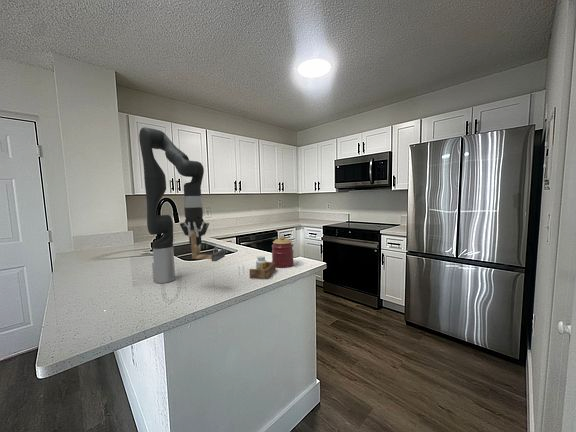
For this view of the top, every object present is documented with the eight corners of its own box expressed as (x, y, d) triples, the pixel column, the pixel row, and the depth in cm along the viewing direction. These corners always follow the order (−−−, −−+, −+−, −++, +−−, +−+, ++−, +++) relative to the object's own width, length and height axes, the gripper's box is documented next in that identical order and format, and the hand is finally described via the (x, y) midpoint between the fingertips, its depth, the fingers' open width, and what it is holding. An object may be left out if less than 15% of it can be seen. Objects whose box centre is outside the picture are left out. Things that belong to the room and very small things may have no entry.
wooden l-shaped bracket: (188, 260, 107) (186, 230, 106) (198, 255, 115) (197, 228, 114) (215, 261, 104) (214, 231, 103) (224, 256, 112) (223, 228, 111)
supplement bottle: (256, 276, 128) (255, 258, 128) (256, 272, 134) (255, 255, 133) (266, 275, 129) (266, 257, 128) (266, 272, 134) (265, 254, 134)
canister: (284, 260, 157) (283, 233, 155) (298, 264, 147) (297, 235, 145) (267, 265, 148) (266, 236, 147) (281, 269, 138) (280, 238, 137)
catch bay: (249, 278, 125) (249, 269, 125) (259, 269, 140) (259, 261, 139) (267, 279, 123) (267, 270, 123) (275, 270, 138) (275, 262, 137)
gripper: (174, 207, 107) (176, 246, 109) (202, 206, 104) (204, 247, 105) (184, 206, 114) (187, 242, 116) (212, 205, 111) (214, 243, 113)
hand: (195, 244), depth 111 cm, fingers closed on wooden l-shaped bracket, 2 cm apart
